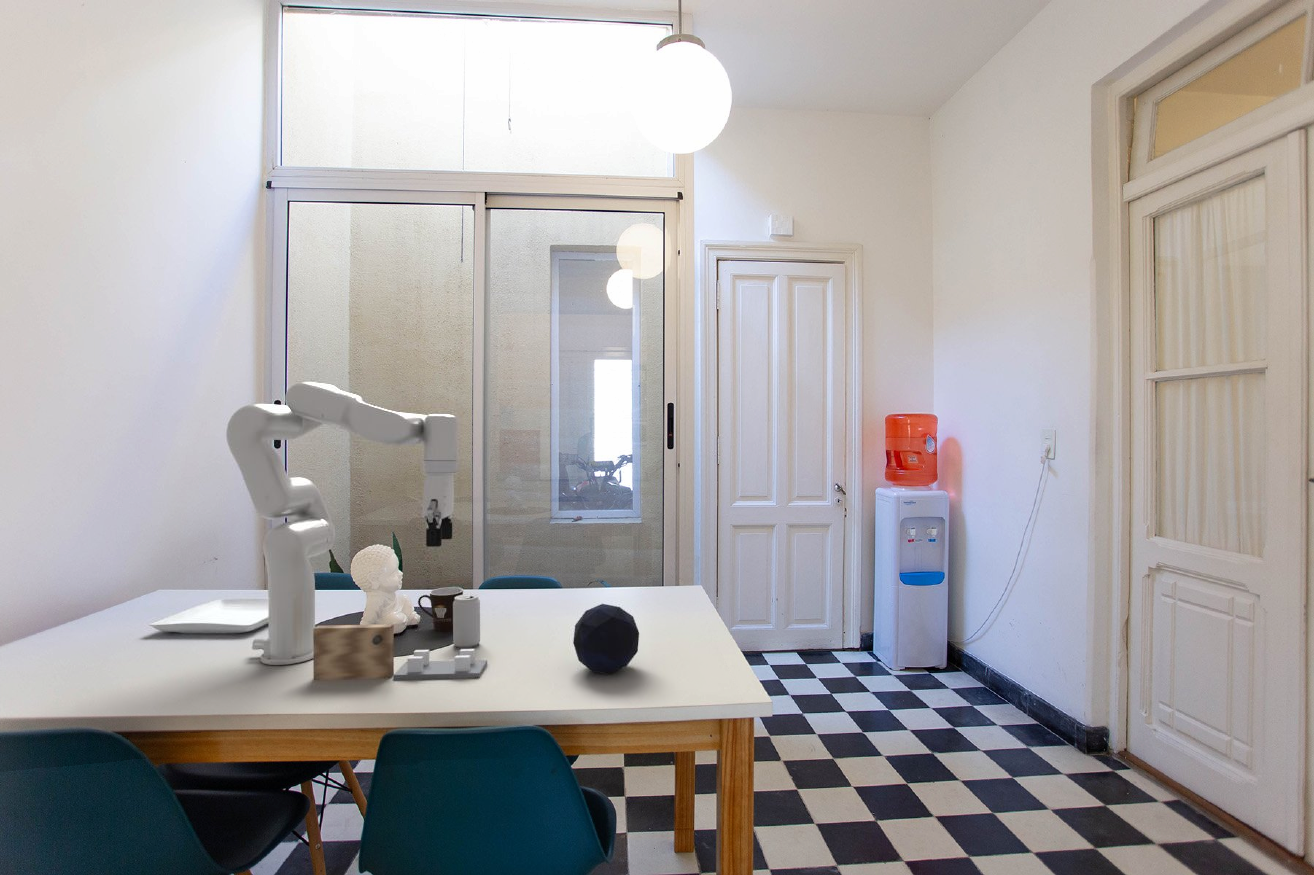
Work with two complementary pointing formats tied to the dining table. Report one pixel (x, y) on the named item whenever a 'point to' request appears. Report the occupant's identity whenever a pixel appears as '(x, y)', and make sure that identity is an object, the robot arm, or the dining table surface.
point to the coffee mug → (442, 607)
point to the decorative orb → (606, 638)
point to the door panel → (353, 652)
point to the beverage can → (466, 621)
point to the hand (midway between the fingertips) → (439, 542)
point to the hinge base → (441, 666)
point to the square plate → (218, 617)
